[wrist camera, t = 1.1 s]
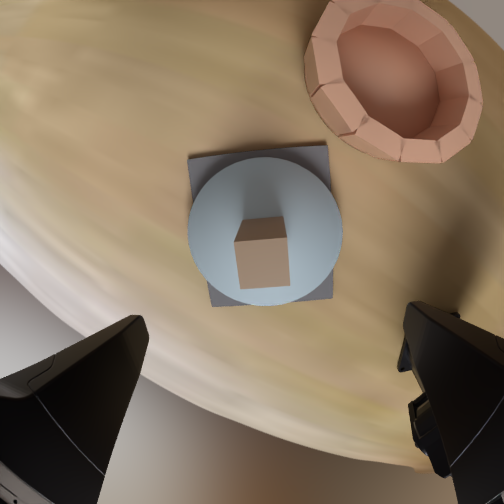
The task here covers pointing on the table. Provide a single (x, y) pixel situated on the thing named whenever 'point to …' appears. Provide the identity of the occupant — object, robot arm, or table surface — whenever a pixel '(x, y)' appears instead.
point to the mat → (306, 157)
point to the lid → (265, 231)
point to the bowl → (393, 80)
